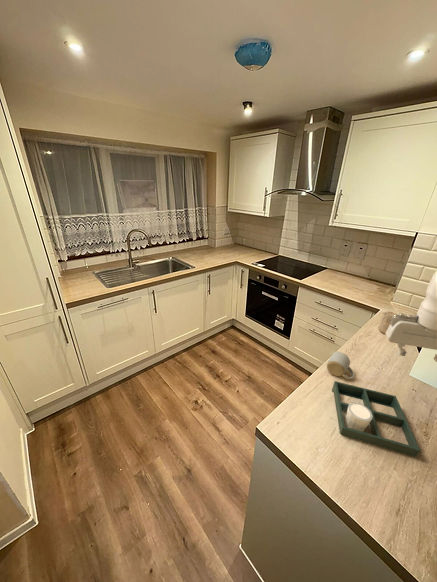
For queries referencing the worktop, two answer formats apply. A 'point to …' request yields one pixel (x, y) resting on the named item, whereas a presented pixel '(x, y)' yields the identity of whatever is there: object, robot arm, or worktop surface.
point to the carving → (386, 321)
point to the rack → (375, 418)
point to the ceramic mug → (339, 365)
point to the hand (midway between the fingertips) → (418, 357)
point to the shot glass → (358, 416)
